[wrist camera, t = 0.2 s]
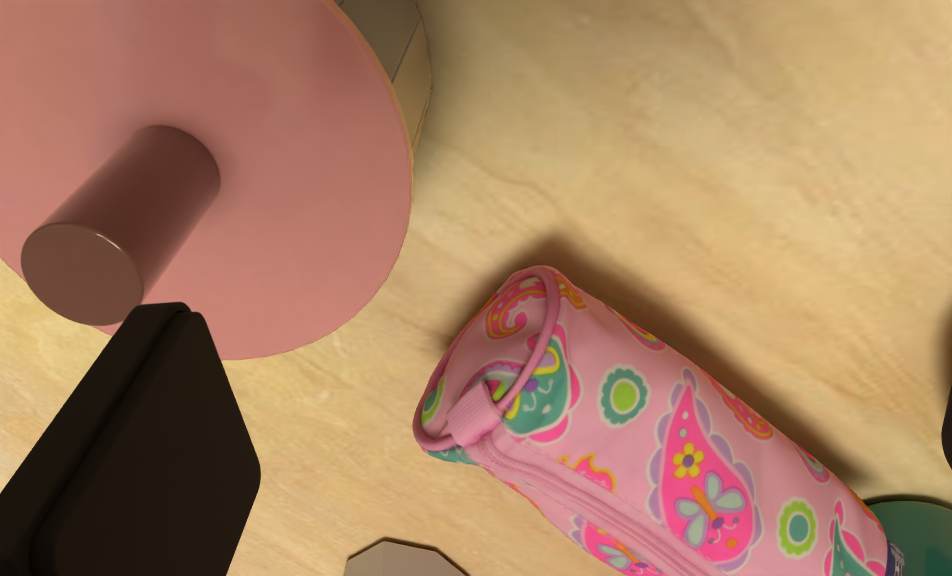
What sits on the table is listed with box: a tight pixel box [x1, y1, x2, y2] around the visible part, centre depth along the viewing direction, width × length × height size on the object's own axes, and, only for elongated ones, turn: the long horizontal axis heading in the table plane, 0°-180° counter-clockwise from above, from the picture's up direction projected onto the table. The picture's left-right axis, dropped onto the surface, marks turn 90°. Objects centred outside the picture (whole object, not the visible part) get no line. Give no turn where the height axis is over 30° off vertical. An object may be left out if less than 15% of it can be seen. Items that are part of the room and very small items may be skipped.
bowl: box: [333, 0, 432, 159], centre depth 28 cm, size 13×13×8 cm
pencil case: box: [413, 265, 904, 576], centre depth 35 cm, size 21×9×9 cm, turn 49°
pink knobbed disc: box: [0, 0, 414, 360], centre depth 22 cm, size 14×14×7 cm
